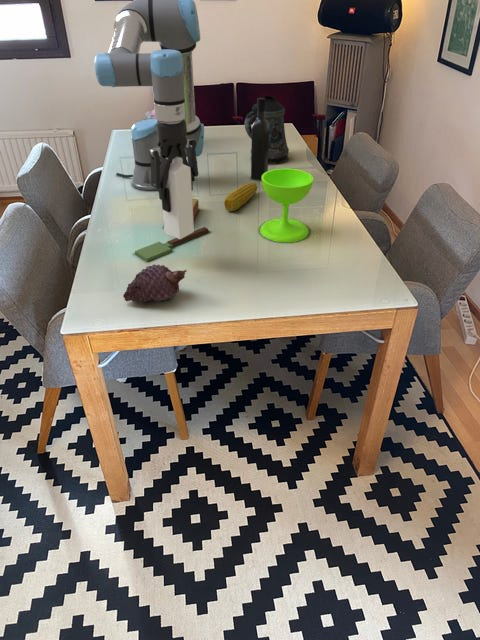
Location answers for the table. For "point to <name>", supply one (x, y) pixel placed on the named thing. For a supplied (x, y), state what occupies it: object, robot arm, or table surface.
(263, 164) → the wine bottle
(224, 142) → the table surface
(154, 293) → the pine cone
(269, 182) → the wineglass
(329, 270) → the table surface
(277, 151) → the beer stein
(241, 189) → the food
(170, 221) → the milk
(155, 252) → the spatula
